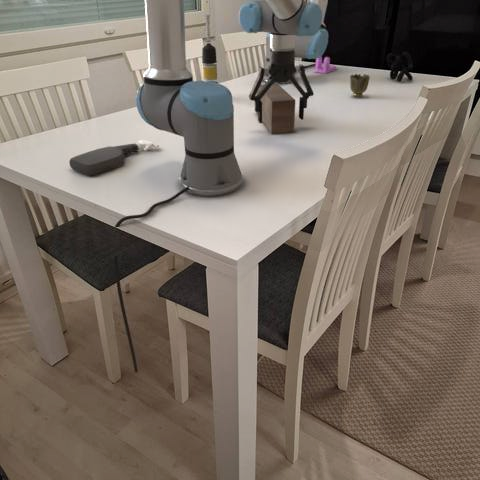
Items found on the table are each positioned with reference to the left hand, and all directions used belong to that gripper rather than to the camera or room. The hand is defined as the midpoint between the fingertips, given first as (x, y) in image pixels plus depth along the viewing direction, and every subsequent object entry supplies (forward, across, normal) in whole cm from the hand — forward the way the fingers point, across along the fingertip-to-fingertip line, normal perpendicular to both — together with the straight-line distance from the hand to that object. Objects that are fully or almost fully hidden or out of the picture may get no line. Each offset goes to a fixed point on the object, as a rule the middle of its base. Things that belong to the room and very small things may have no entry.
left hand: (280, 120), depth 143 cm
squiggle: (+4, -70, -55) cm, 89 cm away
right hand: (-32, -7, -38) cm, 50 cm away
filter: (+3, +17, -44) cm, 47 cm away
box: (+3, 0, -8) cm, 8 cm away
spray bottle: (+2, +51, +15) cm, 53 cm away
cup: (+4, -40, -32) cm, 51 cm away
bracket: (+4, -45, -83) cm, 95 cm away
